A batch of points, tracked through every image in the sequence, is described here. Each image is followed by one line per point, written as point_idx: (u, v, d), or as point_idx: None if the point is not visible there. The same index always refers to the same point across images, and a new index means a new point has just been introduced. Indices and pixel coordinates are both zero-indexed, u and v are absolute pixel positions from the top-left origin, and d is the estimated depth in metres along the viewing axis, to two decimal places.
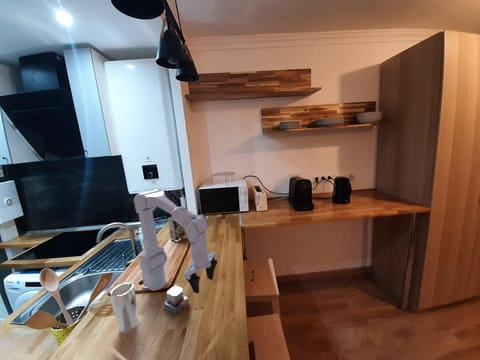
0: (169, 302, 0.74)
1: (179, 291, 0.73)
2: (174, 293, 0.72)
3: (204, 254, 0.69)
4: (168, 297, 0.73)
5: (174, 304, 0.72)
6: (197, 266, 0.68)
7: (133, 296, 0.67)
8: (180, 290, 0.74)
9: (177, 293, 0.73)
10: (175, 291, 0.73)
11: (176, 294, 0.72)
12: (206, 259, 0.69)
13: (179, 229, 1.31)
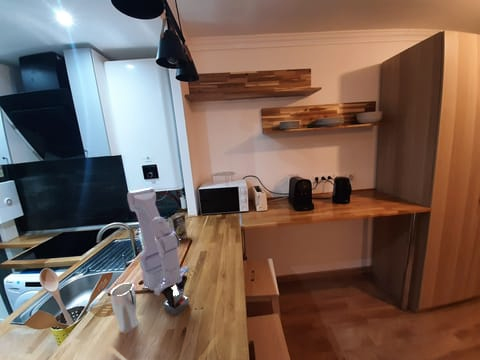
0: None
1: (179, 291, 0.73)
2: (174, 293, 0.72)
3: (175, 270, 0.70)
4: None
5: (174, 304, 0.72)
6: (168, 281, 0.70)
7: (133, 296, 0.67)
8: (180, 290, 0.74)
9: (177, 293, 0.73)
10: (175, 291, 0.73)
11: (176, 294, 0.72)
12: (177, 274, 0.71)
13: (179, 229, 1.31)
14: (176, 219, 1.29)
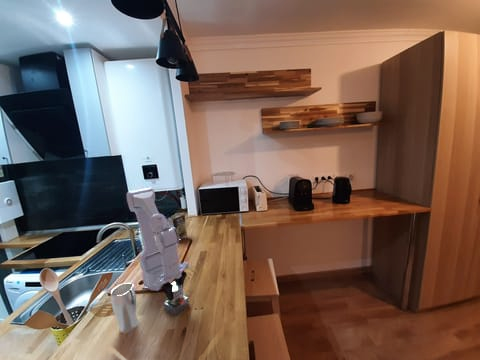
0: None
1: (178, 287, 0.73)
2: (173, 289, 0.72)
3: (174, 265, 0.70)
4: None
5: (173, 300, 0.72)
6: (167, 277, 0.70)
7: (133, 296, 0.67)
8: (179, 286, 0.73)
9: (176, 289, 0.72)
10: (174, 287, 0.73)
11: (175, 290, 0.72)
12: (176, 270, 0.71)
13: (179, 229, 1.31)
14: (176, 219, 1.29)
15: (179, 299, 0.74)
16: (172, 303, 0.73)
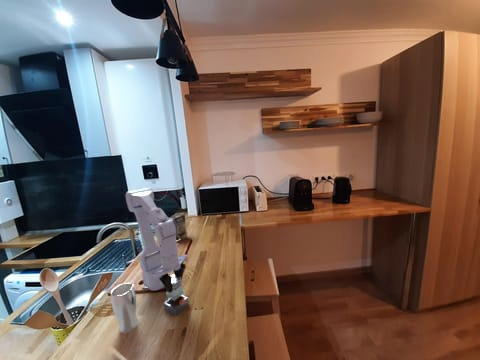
0: None
1: (177, 279, 0.73)
2: (172, 281, 0.72)
3: (173, 257, 0.70)
4: None
5: (172, 292, 0.71)
6: (166, 269, 0.69)
7: (133, 296, 0.67)
8: (178, 278, 0.73)
9: (175, 281, 0.72)
10: (173, 279, 0.73)
11: (174, 282, 0.71)
12: (175, 262, 0.70)
13: (179, 229, 1.31)
14: (176, 219, 1.29)
15: (178, 291, 0.73)
16: (171, 295, 0.72)
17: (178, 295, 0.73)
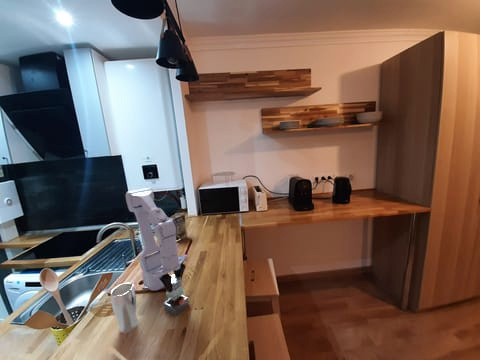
0: None
1: (177, 279, 0.73)
2: (172, 281, 0.72)
3: (173, 257, 0.70)
4: None
5: (172, 292, 0.71)
6: (166, 269, 0.69)
7: (133, 296, 0.67)
8: (178, 278, 0.73)
9: (175, 281, 0.72)
10: (173, 279, 0.73)
11: (174, 282, 0.71)
12: (175, 262, 0.70)
13: (179, 229, 1.31)
14: (176, 219, 1.29)
15: (178, 291, 0.73)
16: (171, 295, 0.72)
17: (178, 295, 0.73)
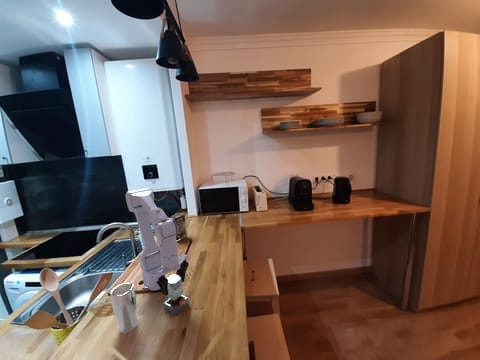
0: None
1: (177, 279, 0.73)
2: (172, 281, 0.72)
3: (173, 257, 0.70)
4: None
5: (172, 292, 0.71)
6: (166, 268, 0.69)
7: (133, 296, 0.67)
8: (178, 278, 0.73)
9: (175, 281, 0.72)
10: (173, 279, 0.73)
11: (174, 282, 0.71)
12: (175, 262, 0.70)
13: (179, 229, 1.31)
14: (176, 219, 1.29)
15: (178, 291, 0.73)
16: (171, 295, 0.72)
17: (178, 295, 0.73)
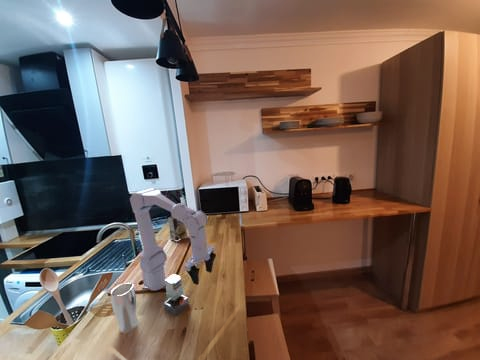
0: (167, 290, 0.73)
1: (177, 279, 0.73)
2: (172, 281, 0.72)
3: (203, 247, 0.73)
4: (166, 285, 0.73)
5: (172, 292, 0.71)
6: (197, 259, 0.72)
7: (133, 296, 0.67)
8: (178, 278, 0.73)
9: (175, 281, 0.72)
10: (173, 279, 0.73)
11: (174, 282, 0.71)
12: (205, 252, 0.73)
13: (179, 229, 1.31)
14: (176, 219, 1.29)
15: (178, 291, 0.73)
16: (171, 295, 0.72)
17: (178, 295, 0.73)
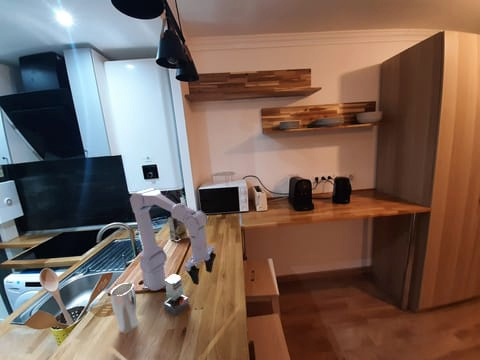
0: (167, 290, 0.73)
1: (177, 279, 0.73)
2: (172, 281, 0.72)
3: (203, 247, 0.73)
4: (166, 285, 0.73)
5: (172, 292, 0.71)
6: (197, 259, 0.72)
7: (133, 296, 0.67)
8: (178, 278, 0.73)
9: (175, 281, 0.72)
10: (173, 279, 0.73)
11: (174, 282, 0.71)
12: (205, 252, 0.73)
13: (179, 229, 1.31)
14: (176, 219, 1.29)
15: (178, 291, 0.73)
16: (171, 295, 0.72)
17: (178, 295, 0.73)
